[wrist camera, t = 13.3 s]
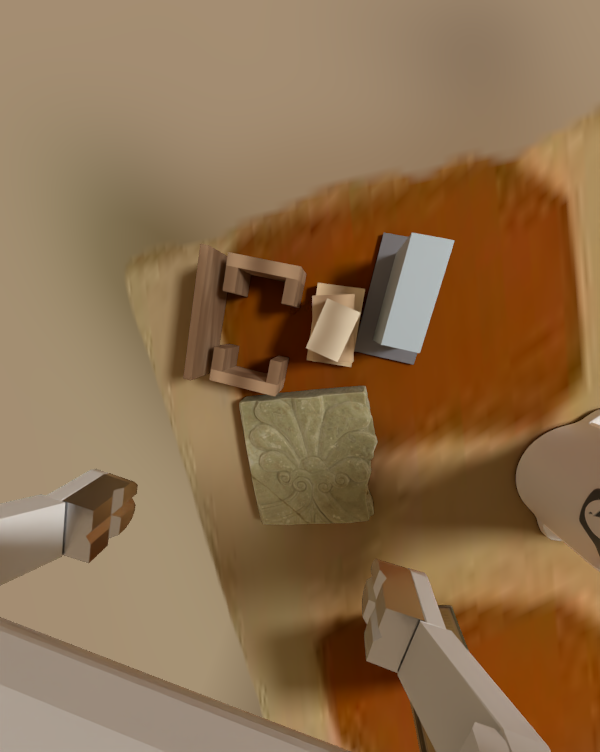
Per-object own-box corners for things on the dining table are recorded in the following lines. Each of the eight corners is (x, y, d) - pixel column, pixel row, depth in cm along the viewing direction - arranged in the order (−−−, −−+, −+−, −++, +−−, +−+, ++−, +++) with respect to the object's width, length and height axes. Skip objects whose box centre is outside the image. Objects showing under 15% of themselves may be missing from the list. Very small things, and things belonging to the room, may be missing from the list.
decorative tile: (264, 514, 45) (258, 530, 42) (243, 395, 42) (235, 402, 39) (382, 511, 42) (386, 527, 39) (369, 382, 39) (372, 388, 36)
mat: (448, 246, 34) (450, 244, 33) (412, 364, 37) (413, 364, 37) (383, 234, 35) (383, 232, 34) (353, 350, 38) (353, 351, 37)
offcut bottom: (363, 291, 37) (365, 288, 35) (350, 364, 39) (351, 367, 37) (319, 285, 38) (317, 282, 35) (308, 357, 40) (306, 359, 37)
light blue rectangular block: (428, 259, 34) (454, 240, 26) (403, 347, 36) (419, 353, 29) (396, 253, 34) (411, 232, 27) (372, 340, 37) (380, 344, 29)
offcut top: (359, 313, 33) (360, 312, 30) (337, 359, 34) (337, 362, 32) (328, 300, 33) (327, 298, 31) (308, 346, 34) (305, 347, 32)
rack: (306, 274, 37) (298, 263, 30) (283, 387, 40) (271, 400, 34) (225, 257, 38) (200, 243, 31) (209, 369, 42) (183, 378, 35)
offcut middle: (353, 296, 35) (354, 293, 33) (352, 359, 36) (353, 361, 34) (314, 297, 36) (312, 295, 33) (314, 359, 37) (312, 361, 35)
